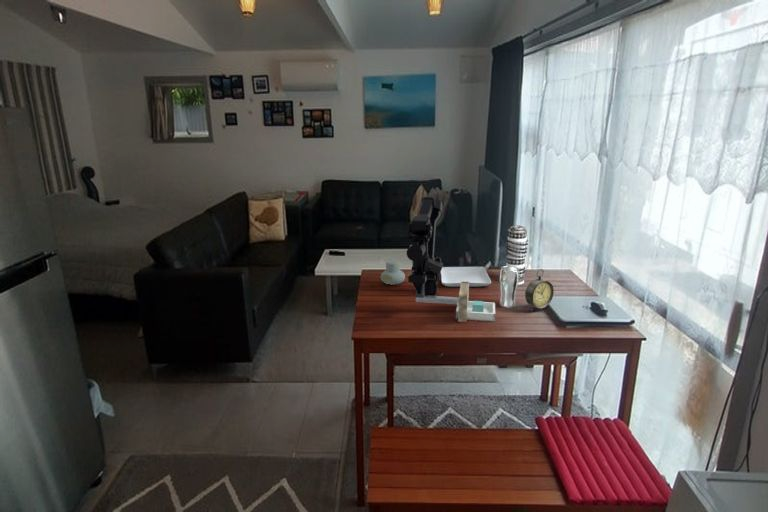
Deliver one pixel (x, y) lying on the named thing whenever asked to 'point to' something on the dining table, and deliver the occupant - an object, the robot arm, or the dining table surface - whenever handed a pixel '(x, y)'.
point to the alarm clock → (539, 293)
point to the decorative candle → (517, 250)
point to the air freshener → (392, 273)
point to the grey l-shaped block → (435, 298)
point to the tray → (486, 315)
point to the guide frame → (463, 301)
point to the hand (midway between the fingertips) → (420, 292)
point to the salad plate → (464, 276)
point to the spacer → (478, 306)
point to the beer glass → (508, 285)
